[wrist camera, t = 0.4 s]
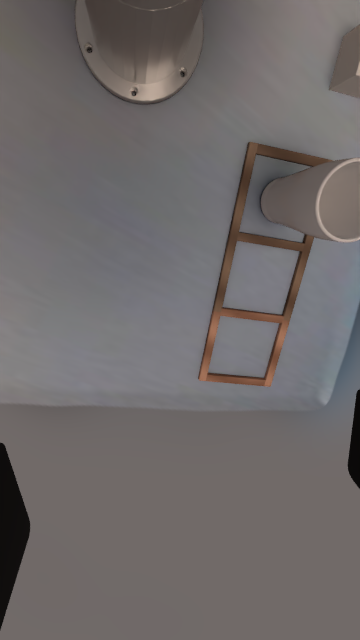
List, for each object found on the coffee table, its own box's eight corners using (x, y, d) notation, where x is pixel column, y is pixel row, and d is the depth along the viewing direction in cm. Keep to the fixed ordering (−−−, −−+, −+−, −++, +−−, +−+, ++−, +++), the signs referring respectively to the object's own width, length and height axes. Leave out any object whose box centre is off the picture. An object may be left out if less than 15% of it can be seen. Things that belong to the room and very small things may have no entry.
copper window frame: (248, 142, 39) (250, 141, 38) (333, 161, 41) (336, 161, 40) (198, 378, 48) (199, 380, 48) (268, 384, 50) (270, 386, 50)
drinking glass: (242, 212, 41) (299, 218, 27) (273, 159, 40) (349, 138, 26) (285, 238, 43) (358, 257, 29) (316, 189, 42) (408, 185, 28)
